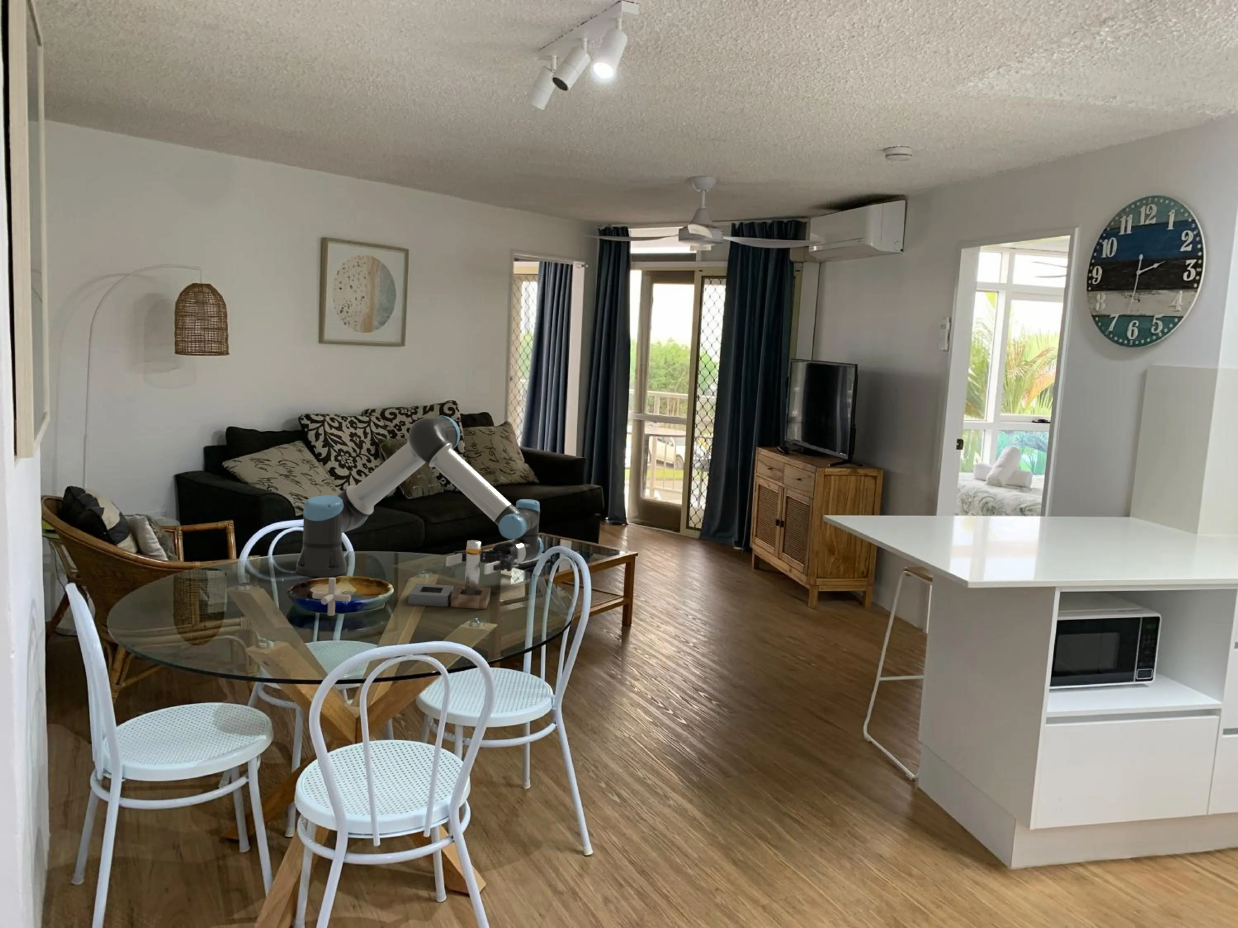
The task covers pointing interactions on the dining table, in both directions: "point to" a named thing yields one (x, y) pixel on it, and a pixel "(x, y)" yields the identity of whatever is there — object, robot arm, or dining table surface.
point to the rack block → (470, 598)
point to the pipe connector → (331, 596)
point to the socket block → (430, 595)
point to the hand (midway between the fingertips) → (466, 565)
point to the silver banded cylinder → (472, 567)
